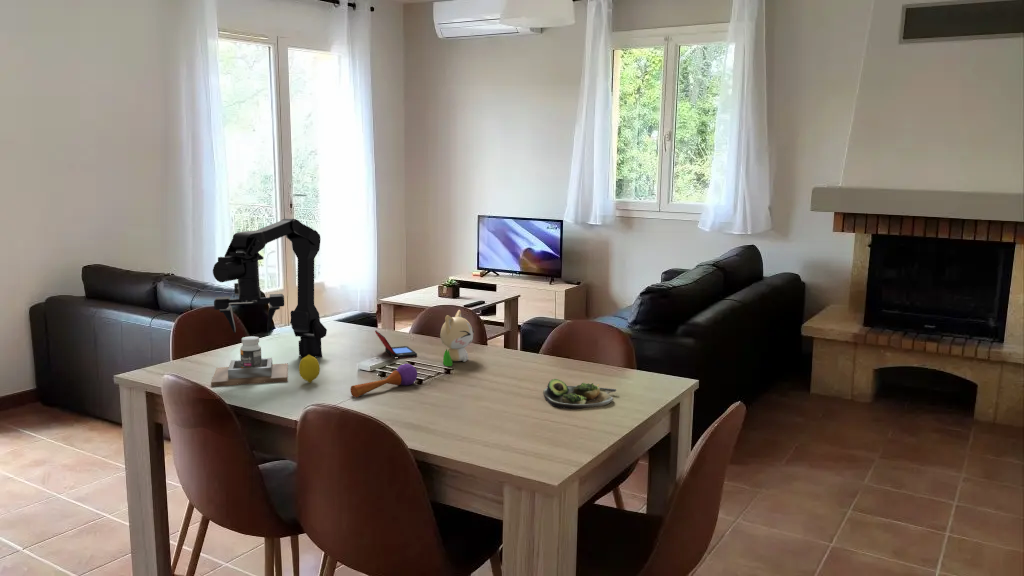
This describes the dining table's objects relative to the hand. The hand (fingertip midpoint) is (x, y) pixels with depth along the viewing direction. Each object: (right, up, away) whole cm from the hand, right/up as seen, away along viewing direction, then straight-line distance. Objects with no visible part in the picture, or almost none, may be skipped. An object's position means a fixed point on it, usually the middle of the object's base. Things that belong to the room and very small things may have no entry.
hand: (251, 331), depth 229 cm
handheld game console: (+37, -9, +27) cm, 47 cm away
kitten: (+57, -10, +18) cm, 61 cm away
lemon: (+18, -14, -6) cm, 24 cm away
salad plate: (+90, -17, -21) cm, 94 cm away
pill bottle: (0, -12, 0) cm, 12 cm away
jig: (0, -13, 0) cm, 13 cm away
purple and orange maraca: (+40, -15, -13) cm, 45 cm away
